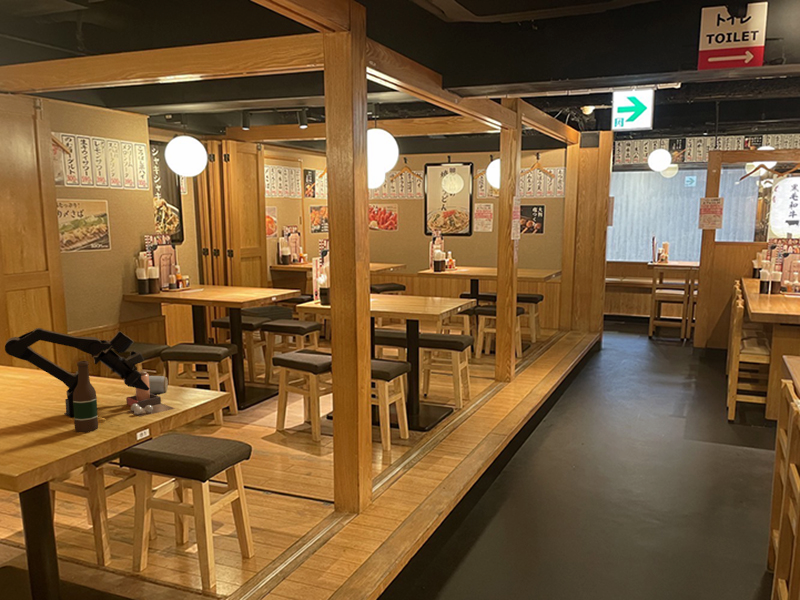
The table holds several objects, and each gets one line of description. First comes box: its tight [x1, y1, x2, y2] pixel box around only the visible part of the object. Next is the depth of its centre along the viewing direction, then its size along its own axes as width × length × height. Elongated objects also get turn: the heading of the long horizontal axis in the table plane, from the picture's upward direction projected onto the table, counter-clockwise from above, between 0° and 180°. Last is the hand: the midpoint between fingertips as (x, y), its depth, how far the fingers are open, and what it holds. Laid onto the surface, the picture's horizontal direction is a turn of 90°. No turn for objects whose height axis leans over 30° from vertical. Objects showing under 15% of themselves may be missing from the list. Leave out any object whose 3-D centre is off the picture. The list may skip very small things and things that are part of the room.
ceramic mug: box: [149, 375, 169, 395], centre depth 264 cm, size 11×8×8 cm
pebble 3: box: [144, 405, 153, 413], centre depth 234 cm, size 3×3×3 cm
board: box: [126, 402, 176, 418], centre depth 238 cm, size 14×10×1 cm
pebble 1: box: [130, 404, 139, 411], centre depth 235 cm, size 3×3×3 cm
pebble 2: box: [134, 406, 143, 416], centre depth 232 cm, size 3×3×3 cm
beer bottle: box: [73, 360, 99, 433], centre depth 216 cm, size 8×8×24 cm
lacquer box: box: [125, 393, 162, 408], centre depth 245 cm, size 9×9×4 cm
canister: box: [135, 370, 150, 401], centre depth 244 cm, size 5×5×13 cm
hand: (146, 386), depth 245 cm, fingers open, 9 cm apart
